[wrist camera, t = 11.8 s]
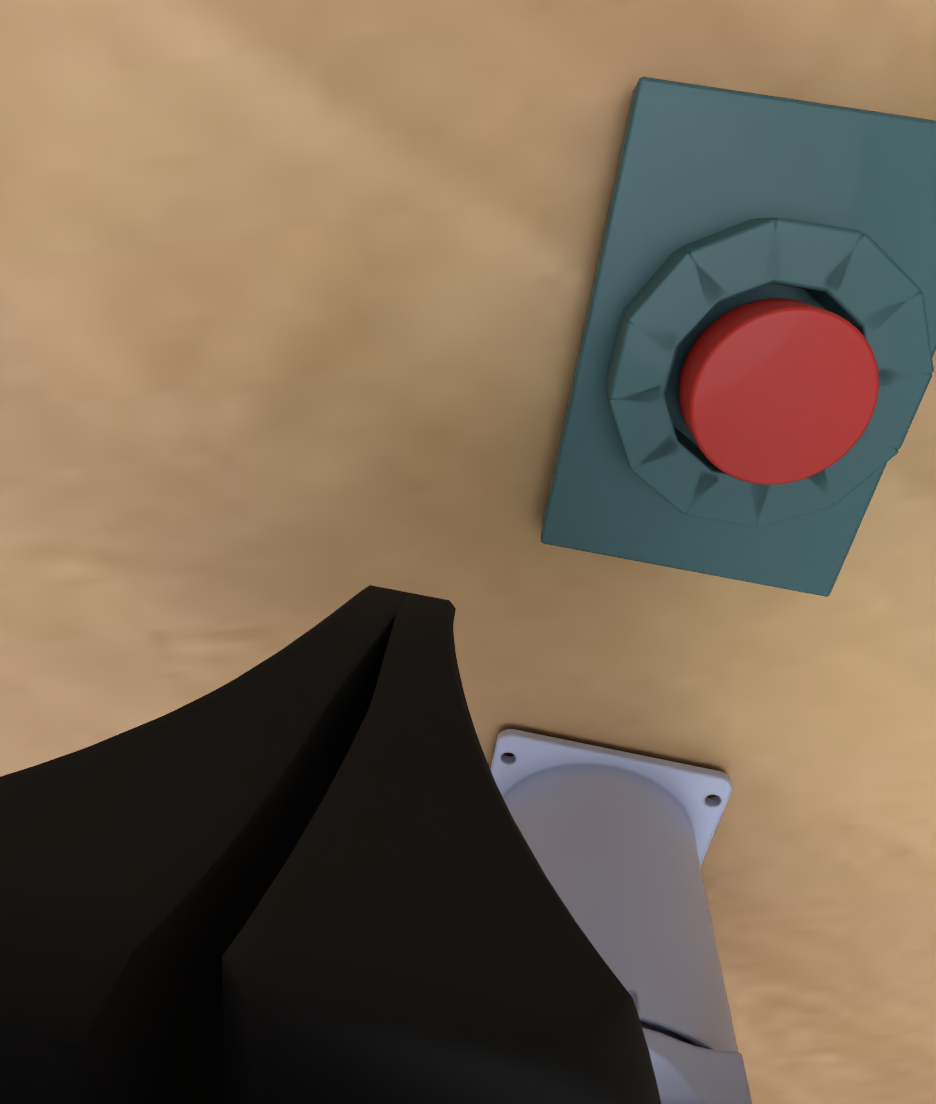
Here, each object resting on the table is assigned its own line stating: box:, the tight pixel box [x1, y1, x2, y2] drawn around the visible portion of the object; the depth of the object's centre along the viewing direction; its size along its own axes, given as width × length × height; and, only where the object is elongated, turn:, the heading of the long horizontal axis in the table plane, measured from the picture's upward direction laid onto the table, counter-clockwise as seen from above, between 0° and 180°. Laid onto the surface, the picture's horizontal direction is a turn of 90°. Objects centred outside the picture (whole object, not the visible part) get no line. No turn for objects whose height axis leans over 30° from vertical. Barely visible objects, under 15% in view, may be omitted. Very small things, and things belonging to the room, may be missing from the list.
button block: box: [541, 77, 936, 596], centre depth 17 cm, size 11×8×3 cm
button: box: [678, 298, 879, 485], centre depth 15 cm, size 4×4×2 cm
